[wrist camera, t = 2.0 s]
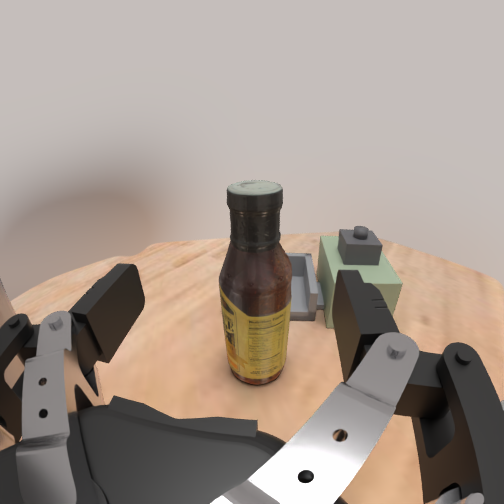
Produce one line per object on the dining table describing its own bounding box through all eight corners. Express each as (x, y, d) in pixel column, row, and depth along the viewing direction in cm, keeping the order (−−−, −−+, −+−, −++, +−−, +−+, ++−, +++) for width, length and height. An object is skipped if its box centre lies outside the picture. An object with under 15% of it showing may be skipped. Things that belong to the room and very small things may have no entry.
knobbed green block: (231, 324, 35) (225, 247, 30) (244, 271, 48) (242, 208, 43) (388, 326, 33) (410, 253, 28) (365, 274, 46) (376, 213, 41)
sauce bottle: (233, 345, 32) (221, 175, 23) (285, 348, 31) (295, 176, 22) (224, 388, 26) (200, 195, 17) (284, 392, 25) (299, 195, 17)
